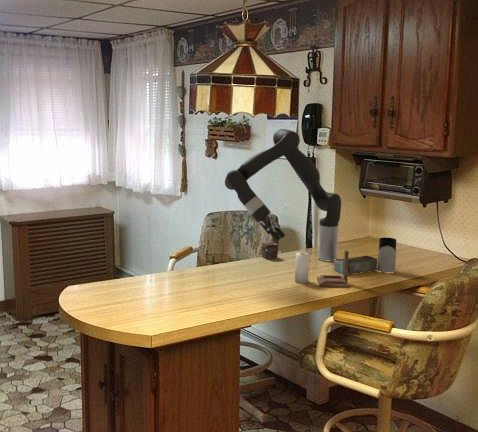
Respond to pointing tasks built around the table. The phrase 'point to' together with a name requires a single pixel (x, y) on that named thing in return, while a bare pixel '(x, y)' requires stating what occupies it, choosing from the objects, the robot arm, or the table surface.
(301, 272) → the paper roll
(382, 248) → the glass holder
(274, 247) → the box
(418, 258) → the table surface
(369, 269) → the beverage carton
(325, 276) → the walnut holder
